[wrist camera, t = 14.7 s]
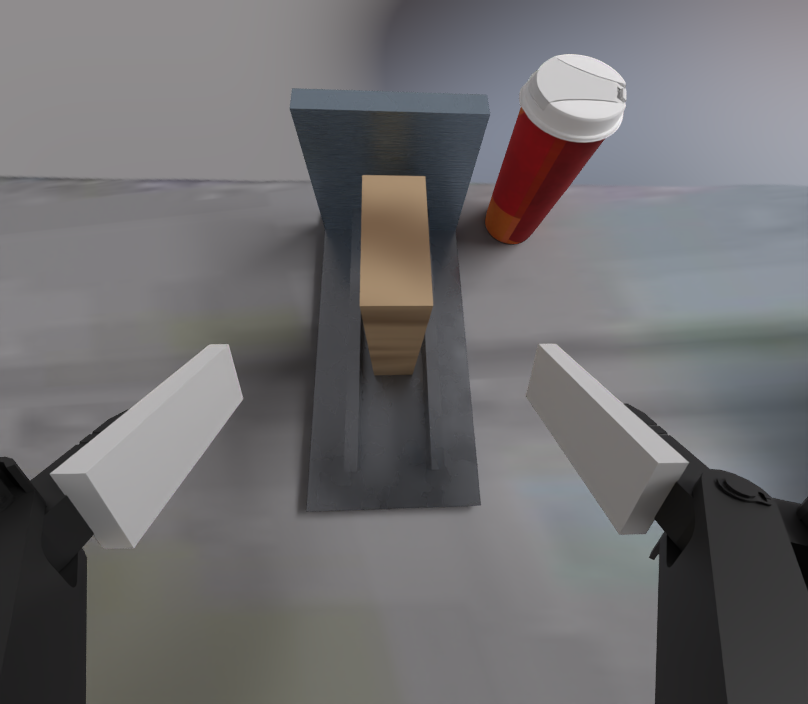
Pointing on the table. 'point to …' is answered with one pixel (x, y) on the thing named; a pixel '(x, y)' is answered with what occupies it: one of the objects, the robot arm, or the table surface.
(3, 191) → the table surface
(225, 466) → the table surface
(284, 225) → the table surface
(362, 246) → the door panel
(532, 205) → the paper cup
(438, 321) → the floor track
